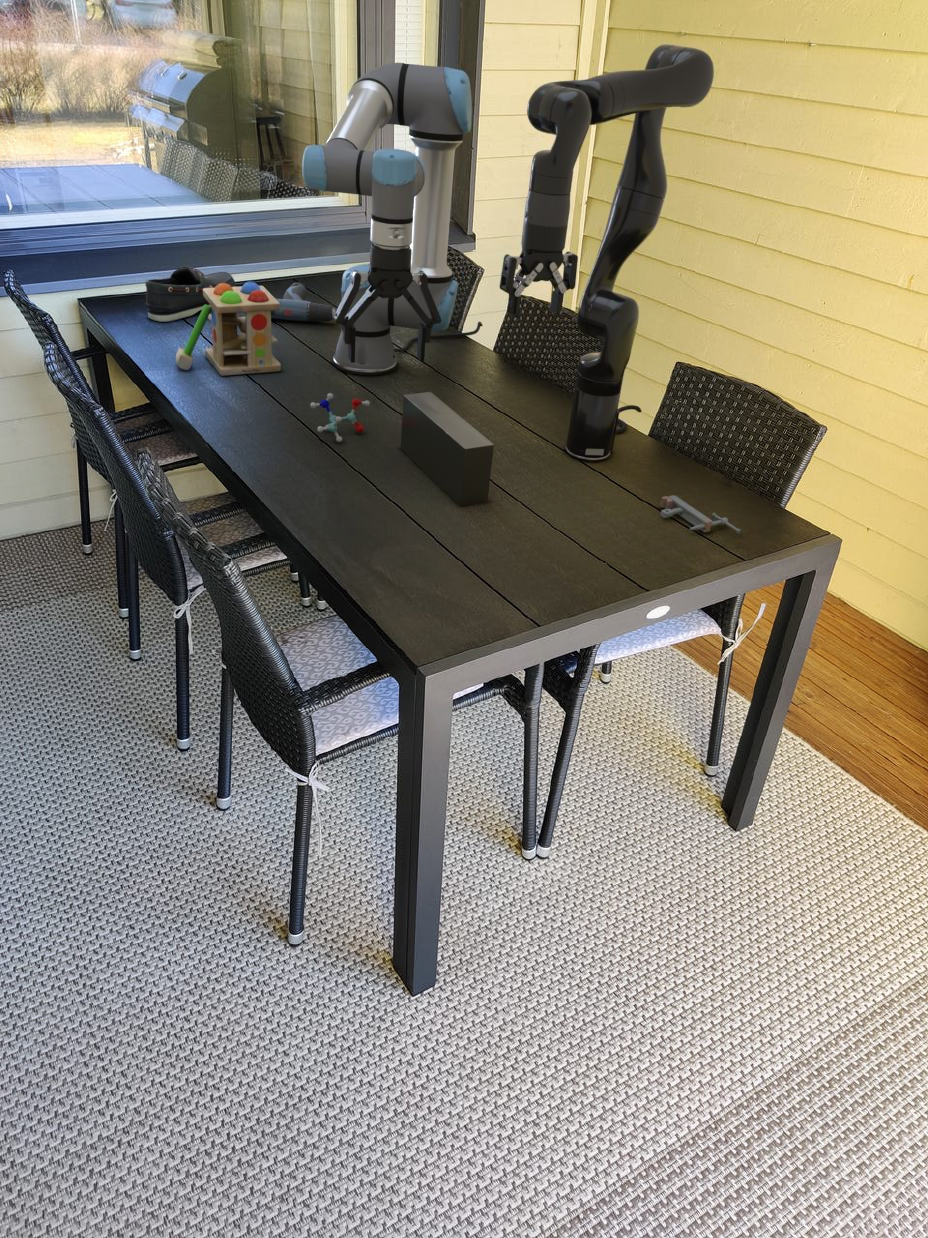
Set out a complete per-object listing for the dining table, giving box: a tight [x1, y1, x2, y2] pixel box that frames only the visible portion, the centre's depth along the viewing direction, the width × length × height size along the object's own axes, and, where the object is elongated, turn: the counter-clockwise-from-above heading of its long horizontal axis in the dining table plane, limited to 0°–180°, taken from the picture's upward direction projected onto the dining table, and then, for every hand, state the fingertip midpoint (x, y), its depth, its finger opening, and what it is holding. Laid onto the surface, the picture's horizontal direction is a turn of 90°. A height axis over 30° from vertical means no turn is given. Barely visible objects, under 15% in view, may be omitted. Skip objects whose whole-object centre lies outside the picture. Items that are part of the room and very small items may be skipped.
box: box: [400, 391, 495, 507], centre depth 189 cm, size 26×6×12 cm, turn 28°
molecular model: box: [309, 392, 371, 443], centre depth 201 cm, size 12×10×10 cm
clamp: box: [659, 494, 742, 534], centre depth 183 cm, size 15×2×10 cm
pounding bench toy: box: [174, 281, 282, 377], centre depth 225 cm, size 23×14×18 cm, turn 116°
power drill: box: [271, 282, 337, 322], centre depth 265 cm, size 5×19×20 cm
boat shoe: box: [144, 265, 237, 323], centre depth 261 cm, size 13×33×10 cm, turn 147°
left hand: (386, 359), depth 189 cm, fingers open, 13 cm apart
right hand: (534, 314), depth 175 cm, fingers open, 8 cm apart
